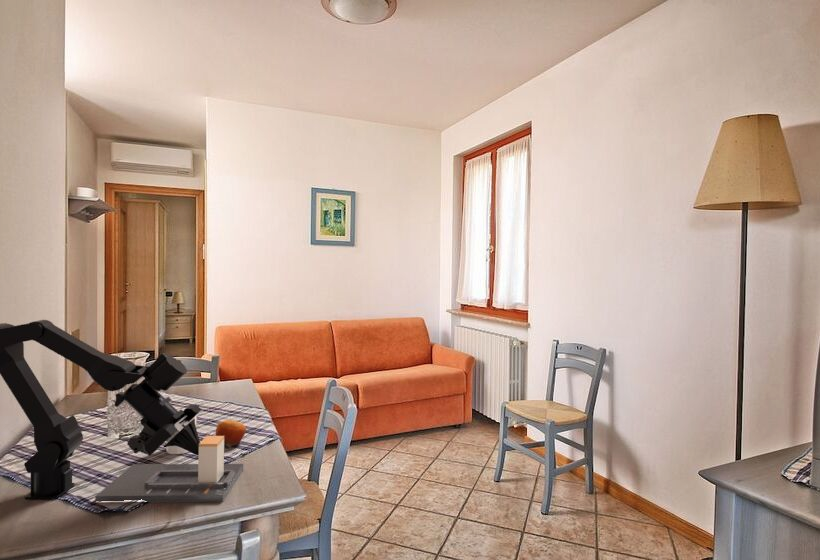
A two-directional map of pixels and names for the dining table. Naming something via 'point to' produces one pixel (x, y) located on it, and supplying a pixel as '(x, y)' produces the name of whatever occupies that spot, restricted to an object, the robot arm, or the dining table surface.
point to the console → (169, 484)
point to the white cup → (175, 448)
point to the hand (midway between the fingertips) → (201, 453)
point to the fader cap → (211, 459)
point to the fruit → (231, 432)
